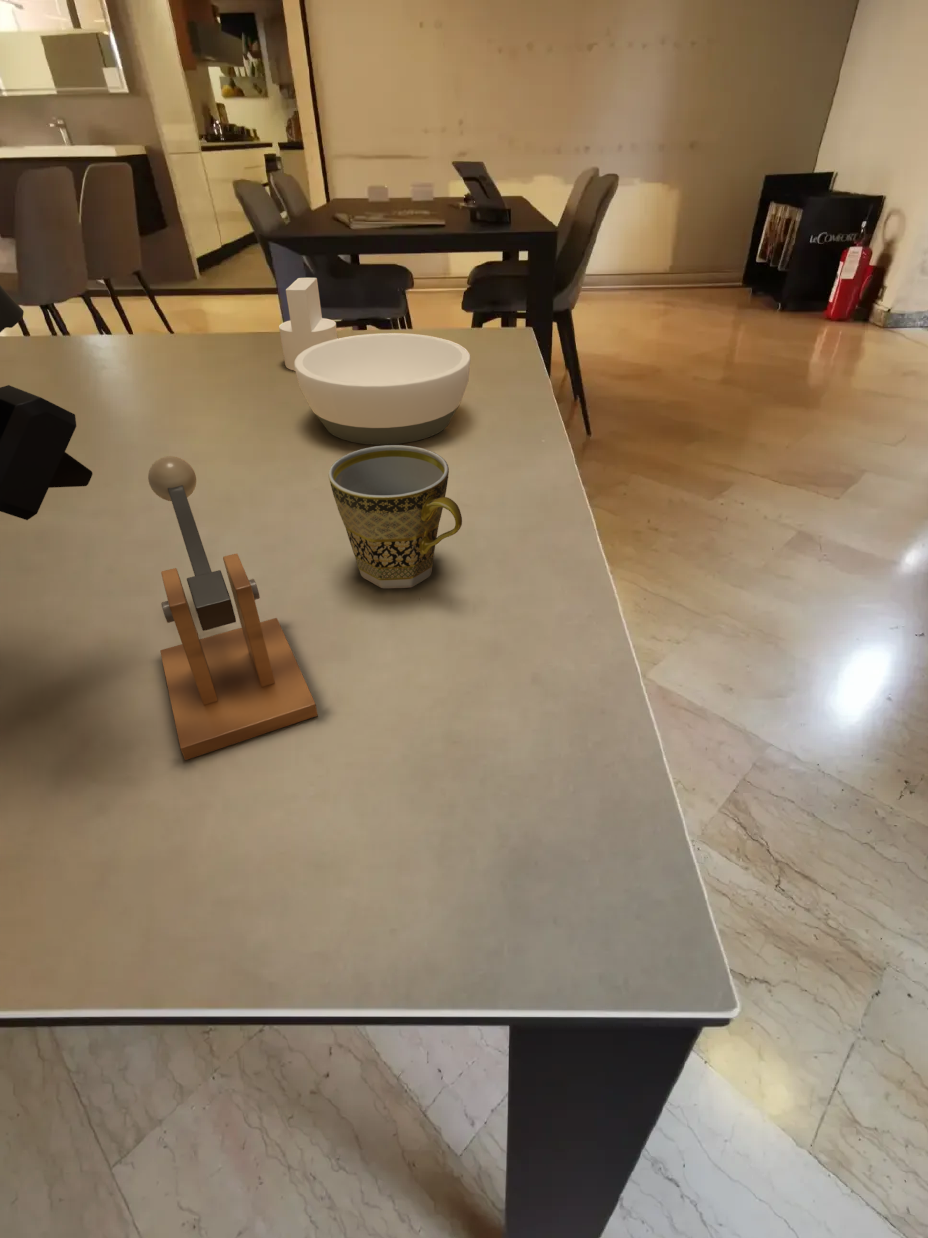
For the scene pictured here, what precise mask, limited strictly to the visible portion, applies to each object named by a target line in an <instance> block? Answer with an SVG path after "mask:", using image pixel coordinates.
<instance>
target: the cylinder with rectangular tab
mask: <svg viewBox="0 0 928 1238" xmlns="http://www.w3.org/2000/svg"><path fill="white" fill-rule="evenodd" d="M285 295H286V300H287V307H288V314H289V320H286V321H283V322H282V323H280V324H279V325H278V329H279V335H280V343H281V349H282V354H283V359H284V365H285V367H286V368H287V369H288V370H291V371H294V372H296V371H295V367H294V362H295V359H296V358H297V356H298V355H299V354H300V353H302V352H303V351H304V350H306V349H308V348H310V347H312V346H314V345H317V344H320V343H323V342H326V341H330V340H334V339H338V338H339V337H338V330H337V322H336V321H335V320H332V319H330V318H327V317H323V314H322V307H321V299H320V292H319V283H318V278H317V277H298V278H296V280H294V281H293V282H292V283H291V284H290V285H289V286H288V287H287V288H286V289H285Z"/></svg>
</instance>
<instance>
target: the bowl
mask: <svg viewBox="0 0 928 1238" xmlns="http://www.w3.org/2000/svg"><path fill="white" fill-rule="evenodd" d="M470 366H471V354H470V352H469V351H468V349H466V348H465V347H464V346H462V344H459V343H457V342H454V341H452V340H449V339H445V338H441V337H438V336H432V335H426V334H419V333H401V332H391V333H390V332H381V333H380V332H379V333H365V334H357V335H350V336H349V335H348V336H344V337H338V339H334V340H330V341H326V342H323V343H320V344H317V345H314V346H312V347H310V348H308V349H306V350H304V351H303V352H302V353H300V354H299V355H298V356H297V358H296V359H295V362H294V367H295V371H294V372H295V375H296V379H297V383H298V386H299V389H300V391H301V393H302V395H303V397H304V399H305V401H306V402H307V404H308V406H309V408H310V410H312V412H313V414H315V416H316V417H317V418H318V419H319V421H320V422H321V424H322V425H323V426H324V427H325V429H326V430H327V432H328V433H330V434H331V435H332V436H334V437H335V438H339V439H341V440H343V441H347V442H350V443H357V444H363V445H372V446H373V445H374V446H385V445H402V444H406V443H412V442H417V441H421V440H424V439H425V440H426V439H428V438H430V437H433V436H435V435H437V434H439V433H440V432H442V431H444V430H445V429H446V428H447V427H448V426H449V424H450V423H451V420H452V418H453V416H454V415H455V413H456V411H457V410H458V407H459V406H460V404H461V402H462V400H463V397H464V395H465V392H466V389H467V386H468V383H469V379H470V369H471V368H470Z"/></svg>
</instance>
